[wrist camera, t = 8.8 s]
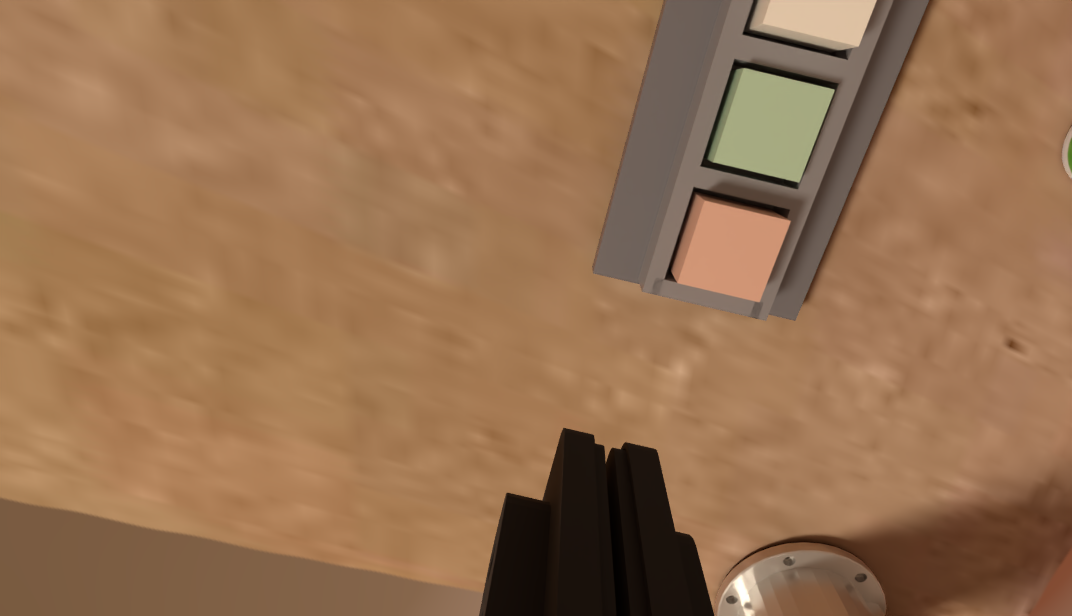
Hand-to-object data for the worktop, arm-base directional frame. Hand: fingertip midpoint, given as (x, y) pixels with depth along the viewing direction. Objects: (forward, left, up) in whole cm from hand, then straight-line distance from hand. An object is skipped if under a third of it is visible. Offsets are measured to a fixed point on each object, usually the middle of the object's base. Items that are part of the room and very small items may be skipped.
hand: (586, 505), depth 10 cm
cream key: (-8, -14, -25) cm, 30 cm away
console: (-8, -7, -27) cm, 29 cm away
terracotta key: (-8, -1, -25) cm, 26 cm away
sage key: (-8, -8, -26) cm, 28 cm away
